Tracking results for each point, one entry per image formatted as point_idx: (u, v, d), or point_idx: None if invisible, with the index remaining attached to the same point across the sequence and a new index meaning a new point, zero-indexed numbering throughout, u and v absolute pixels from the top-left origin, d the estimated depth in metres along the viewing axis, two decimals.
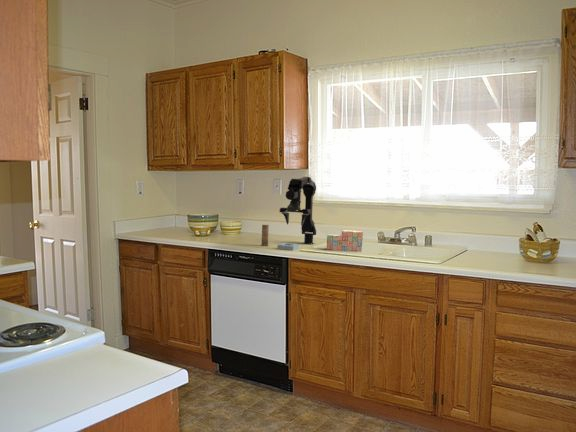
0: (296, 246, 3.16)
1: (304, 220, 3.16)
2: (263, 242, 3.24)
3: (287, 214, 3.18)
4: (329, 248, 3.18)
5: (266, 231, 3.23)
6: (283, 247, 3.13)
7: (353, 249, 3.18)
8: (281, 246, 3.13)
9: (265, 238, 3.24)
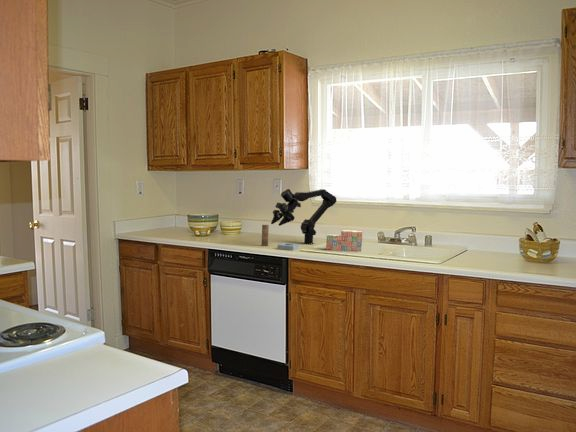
0: (296, 246, 3.16)
1: (284, 223, 3.25)
2: (263, 242, 3.24)
3: (277, 217, 3.35)
4: (329, 248, 3.18)
5: (266, 231, 3.23)
6: (283, 247, 3.13)
7: (353, 249, 3.18)
8: (281, 246, 3.13)
9: (265, 238, 3.24)
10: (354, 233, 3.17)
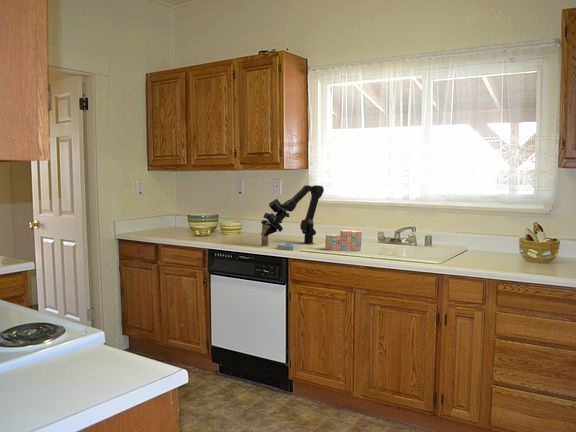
0: (296, 246, 3.16)
1: None
2: (263, 242, 3.24)
3: None
4: (328, 248, 3.18)
5: (266, 231, 3.23)
6: (283, 247, 3.13)
7: (352, 249, 3.19)
8: (281, 246, 3.13)
9: (265, 238, 3.24)
10: (353, 233, 3.18)
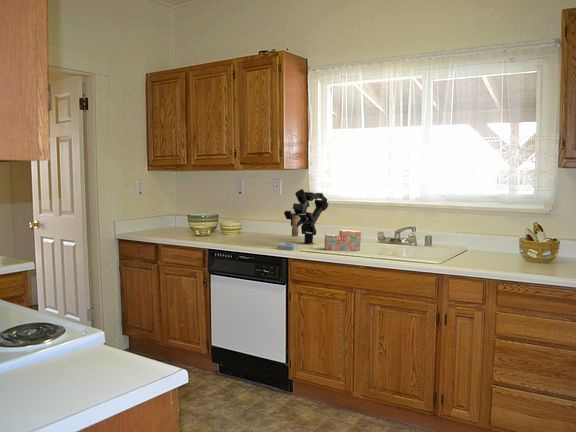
0: (296, 246, 3.16)
1: None
2: (295, 233, 3.22)
3: None
4: (328, 248, 3.18)
5: (298, 221, 3.23)
6: (283, 247, 3.13)
7: (351, 249, 3.19)
8: (281, 246, 3.13)
9: (297, 228, 3.23)
10: (353, 233, 3.18)
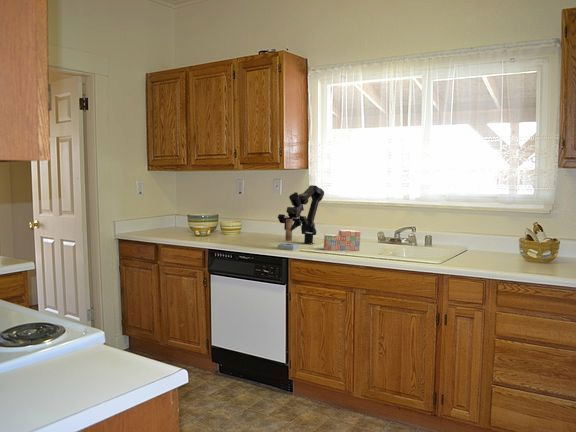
0: (296, 246, 3.16)
1: None
2: (288, 237, 3.15)
3: None
4: (327, 248, 3.18)
5: (291, 225, 3.15)
6: (283, 247, 3.13)
7: (351, 249, 3.20)
8: (281, 246, 3.13)
9: (291, 233, 3.15)
10: (352, 233, 3.19)
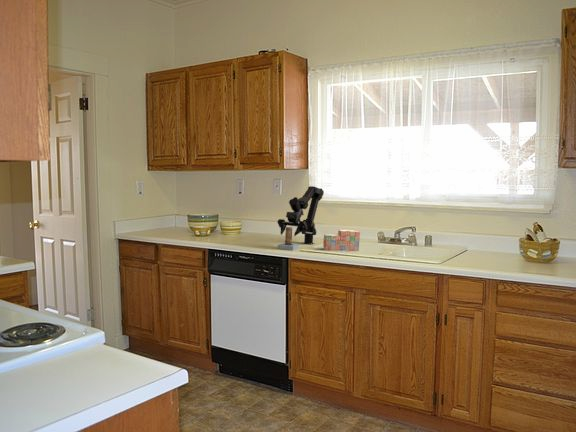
0: (296, 246, 3.16)
1: (298, 233, 3.15)
2: None
3: (283, 226, 3.21)
4: (327, 248, 3.18)
5: (291, 234, 3.15)
6: (283, 247, 3.13)
7: (350, 248, 3.20)
8: (281, 246, 3.13)
9: (290, 241, 3.15)
10: (352, 233, 3.19)
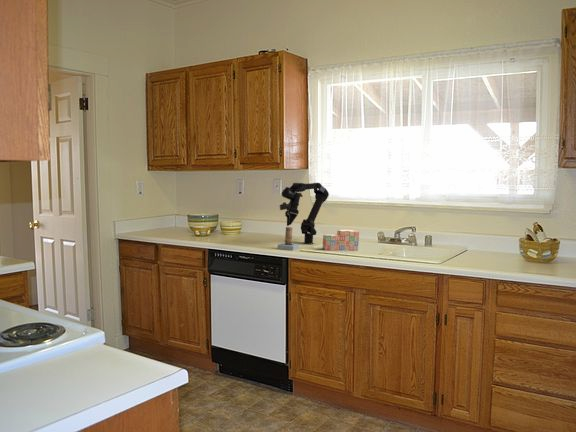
0: (296, 246, 3.16)
1: (293, 220, 3.23)
2: None
3: None
4: (327, 248, 3.17)
5: (291, 234, 3.15)
6: (283, 247, 3.13)
7: (350, 248, 3.20)
8: (281, 246, 3.13)
9: (290, 241, 3.15)
10: (351, 232, 3.20)
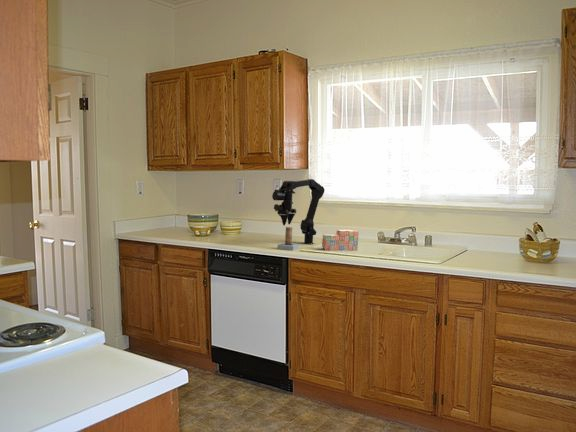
0: (296, 246, 3.16)
1: (285, 220, 3.25)
2: None
3: (289, 215, 3.36)
4: (327, 248, 3.17)
5: (291, 234, 3.15)
6: (283, 247, 3.13)
7: (349, 248, 3.21)
8: (281, 246, 3.13)
9: (290, 241, 3.15)
10: (351, 232, 3.20)
